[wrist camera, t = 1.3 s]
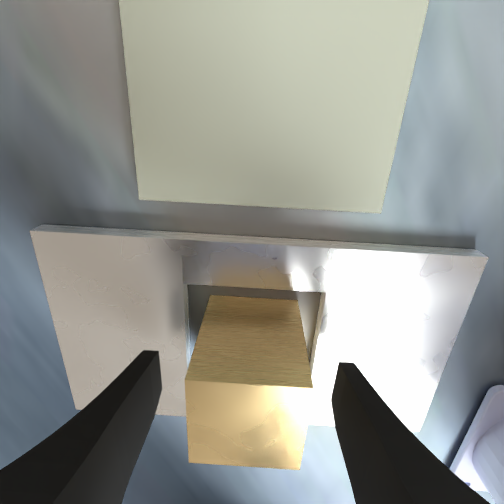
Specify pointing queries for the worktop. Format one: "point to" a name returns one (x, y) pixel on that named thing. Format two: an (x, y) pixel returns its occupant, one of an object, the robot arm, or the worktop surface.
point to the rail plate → (264, 277)
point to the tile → (268, 99)
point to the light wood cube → (249, 384)
